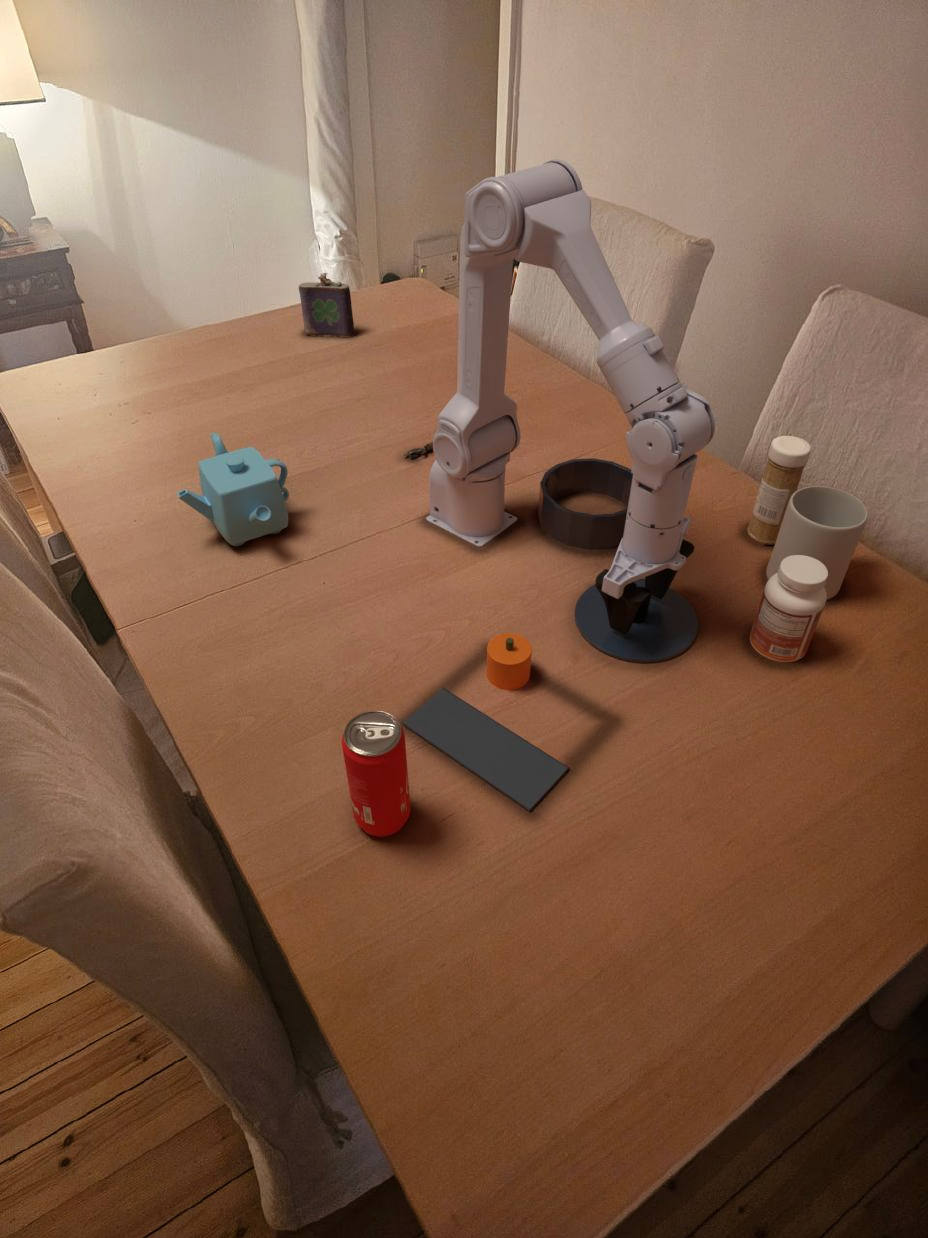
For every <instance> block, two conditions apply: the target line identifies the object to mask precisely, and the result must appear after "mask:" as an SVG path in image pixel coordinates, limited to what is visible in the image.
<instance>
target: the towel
mask: <svg viewBox="0 0 928 1238" xmlns="http://www.w3.org/2000/svg"><path fill="white" fill-rule="evenodd" d="M402 726H404V727H405V728H406V729H408V730H410V731H411V732H412V733H414V734H415V735H416V736H418V737H420V738H421V739H422V740H424V741H425V742H427V743H428V744H429V745H431V746H433V747H434V748H435V749H437V750H439V751H440V752H441V753H443V754H444V755H446V756H447V757H449V758H450V759H451V760H453V761H455V762H456V763H458V764H459V765H460V766H462V767H463V768H465V769H466V770H467V771H469V772H470V773H472V774H474V775H475V776H476V777H478V778H479V779H480V780H482V781H483V782H485V783H487V785H489V786H491V787H493V788H494V789H496V791H498V792H500V793H501V794H503V795H504V796H506V797H507V798H508V799H510V800H511V801H513V802H514V803H516V804H517V805H519V806H520V807H521V808H523V809H525V810H526V811H527V812H531V811H532V810H533V809H534V808H535V807H536V806H537V805H538V803H540V801H541V800H542V799H543V798H544V797H545V796H546V795H547V794H548V792H549V791H550V790H551V789H552V788H553V787H554V786H555V785H556V784H557V783H558V782H559V780H561V778H562V777H563V776H564V775H565V774H566V773H567V772H568V771H569V770H570V767H569V766H567V765H565V764H564V763H562V762H561V761H560V760H558V759H556V758H554V757H553V756H551V755H550V754H548V753H547V752H545V750H544V751H543V750H542V749H541V748H539V747H537V746H536V745H534V744H532V743H531V742H529V741H528V740H526V739H525V738H523V737H522V736H520V735H519V734H517V733H516V732H513V731H512V730H510V729H509V728H508V727H506V726H504V725H503V724H501V723H500V722H498V721H496V720H495V719H493V718H491V717H490V716H489V715H487V714H485V713H484V712H483V711H481V710H479V709H478V708H476V707H475V706H473V705H471V704H470V703H468V702H467V701H465V700H464V699H462V698H460V697H459V696H457V695H455V694H454V693H452V692H451V691H449V690H448V689H446V688H445V687H442V688H441V689H440V690H438V691H437V692H436V693H435V694H434V695H433V696H431V697H430V698H429V699H428V700H427V701H426V702H425V703H423V704H422V705H421V706H420V707H418V709H416V710H415V711H414V712H413V713H412V714H411V715H410V716H408V717H407V718H406V719H405V720H404V721H402Z"/></svg>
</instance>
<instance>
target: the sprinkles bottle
mask: <svg viewBox="0 0 928 1238" xmlns="http://www.w3.org/2000/svg"><path fill="white" fill-rule="evenodd" d="M811 452H812V447H811V445H810V443H809V442H808V441H806V440H805V439H803V438H801V437H798V436H794V435H781V436H777V437H775V438H774V439H772V441H771V443H770V446H769V449H768V452H767V453H768V454H767V455H768V456H767V461H766V465H765V469H764V471H763V475H762V477H761V481H760V485H759V487H758V491H757V495H756V498H755V501H754V506H753V510H752V513H751V514H752V515H751V518H750V521H749V525H748V526H747V528H746V529H747V534H748V536H749V537H750V538H752V539H753V540H755V541H756V542H759V543H763V544H764V545H766V546H769V545H770V546H771V545H775V543H776V540H777V537H778V534H779V531H780V527H781V524H782V521H783V518H784V515H785V512H786V509H787V506H788V503H789V500H790V498H791V496H792V495H793V494H794V493H795V492H796V491H798V489H799V485H800V482H801V478H802V476H803V472H804V468H805V466H806V465H807V464H808V461H809V459H810V456H811Z"/></svg>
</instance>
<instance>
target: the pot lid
mask: <svg viewBox="0 0 928 1238" xmlns="http://www.w3.org/2000/svg"><path fill="white" fill-rule="evenodd" d="M634 583H636V584H637V585H636V587H637V588H639V589H641V590H643V591H645V592H647V593H649V594H650V595H649V596H648V597H647V598H646V599H645V600H644V601H643V602H642V604H641V605H640V607H639V609H638V611H637V613H636V615H635V618H634V621H633V624H632V626H631V628H630V630H629V631H628V633H627V634H626V635H623V634H621V633H620V632H618V631H616V630H614V629H612V628H610V625H609V620H608V614H607V609H606V605H605V602H604V600H603V598H602V596H601V594H600V592H599V591H598V589H597V588H596V586H595V584H593V585H591V586H590V587H588V588H587V589H585V591H583V592H582V594H581V595H580V596H579V598H578V599H577V601H576V604H575V609H574V622H575V626H576V628H577V631H578V632H579V634H580V636H581V637H583V639H584V640H585V641H586V642H587V643H588V644H589V645H590V646H592V647H593V648H594V649H596V650H597V651H599V652H601V653H603V654H604V655H607V656H609V657H611V658H614V659H617V660H621V661H625V662H631V663H637V664H639V663H640V664H653V663H659V662H665V661H668V660H671V659H674V658H676V657H678V656H681V654H683V653H684V652H686V651H687V650H688V649H689V648H690V647H691V646H692V644H693V643H694V642H695V640H696V637H697V633H698V630H699V621H698V617H697V613H696V611H695V609H694V607H693V606H692V604H690V602H689V601H688V600H687V599H686V597H684V596H683V595H682V594H681V593H679V592H678V591H676V590H675V589H673V588H671V587H669V589H668V591H667V592H666V594H665V595H664V597H663V598H662V599H659V598H657V597H655V596H653V595H651V592H650V591H649V590H648V589H647V588H645V578H641V579H639V580H637V581H634Z"/></svg>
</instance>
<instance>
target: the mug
mask: <svg viewBox="0 0 928 1238" xmlns="http://www.w3.org/2000/svg"><path fill="white" fill-rule="evenodd" d="M868 511H869V510H868V509H867V507H866V504H865V502H863V501H862V500H861V499H859V498H858V497H856V496H855V495H853V494H851V493H849V492H847V491H845V490H842V489H839V488H836V487H831V486H823V485H812V486H806V487H802V488H800V489H799V488H798V489H797V491H796V492H795V493H794V494H793V495H792V496H791V498H790V500H789V503H788V506H787V509H786V512H785V515H784V518H783V521H782V524H781V527H780V531H779V534H778V537H777V540H776V543H775V544H774V546H773V549H772V552H771V555H770V558H769V560H768V563H767V566H766V570H765V573H766V574H765V575H766V578H767V581H768V580H769V579H770V578H771V577H772V576H773V575H774V574H776V573H778V570H779V567H780V564H781V562H782V560H783V559H785V558H786V557H788V556H792V555H804V556H809V557H812V558H814V559H817V560H818V561H820V562H821V563H823V564H824V565H825V567H826V568H827V570H828V577H827V580H826V583H825V586H824V588H825V590H826V594H827V599H826V601H827V600H830V599H833V598H834V597H835V596H837V594H838V593H839V591H840V589H841V587H842V584H843V581H844V578H845V576H846V573H847V571H848V568H849V566H850V564H851V561H852V558H853V556H854V554H855V552H856V549H857V546H858V545H859V541H860V540H861V537H862V534H863V532H864V529H865V527H866V524H867V522H868V518H869V512H868Z"/></svg>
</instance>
